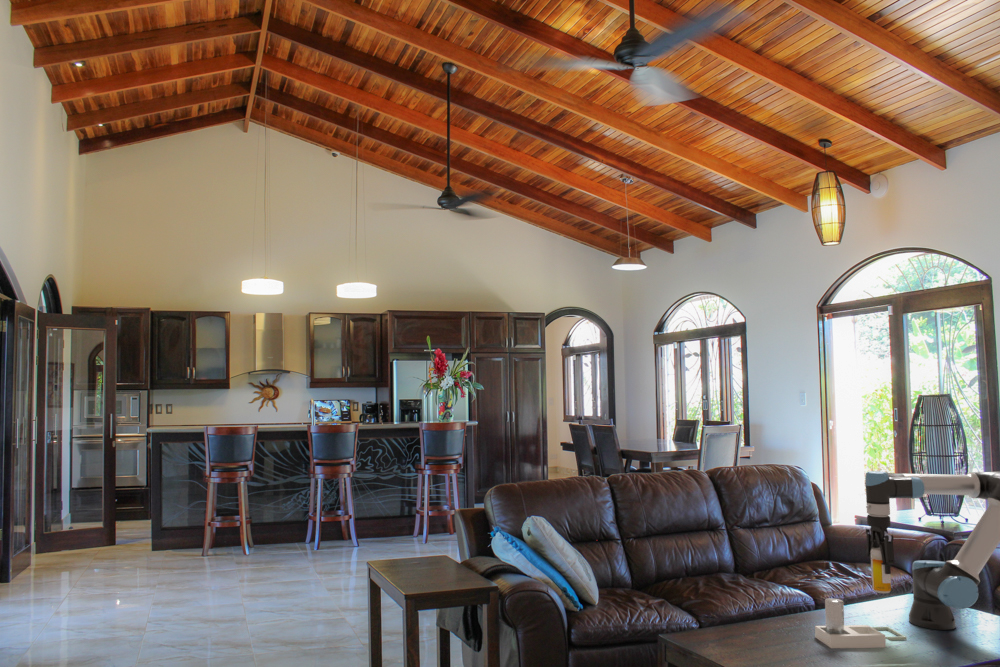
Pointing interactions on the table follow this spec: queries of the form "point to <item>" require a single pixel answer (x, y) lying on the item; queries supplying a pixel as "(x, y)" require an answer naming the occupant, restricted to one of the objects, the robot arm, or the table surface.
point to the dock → (852, 637)
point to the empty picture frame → (901, 637)
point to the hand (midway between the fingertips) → (881, 580)
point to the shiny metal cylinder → (834, 616)
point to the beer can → (878, 572)
